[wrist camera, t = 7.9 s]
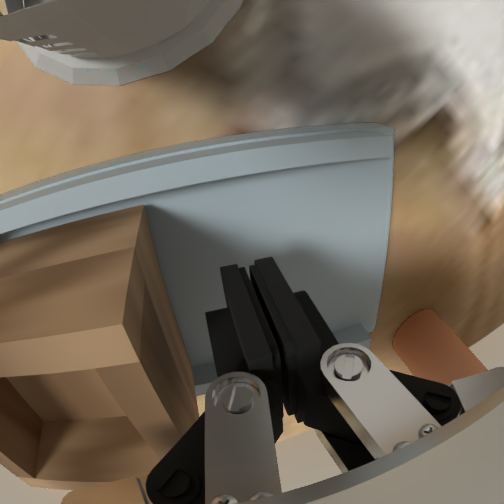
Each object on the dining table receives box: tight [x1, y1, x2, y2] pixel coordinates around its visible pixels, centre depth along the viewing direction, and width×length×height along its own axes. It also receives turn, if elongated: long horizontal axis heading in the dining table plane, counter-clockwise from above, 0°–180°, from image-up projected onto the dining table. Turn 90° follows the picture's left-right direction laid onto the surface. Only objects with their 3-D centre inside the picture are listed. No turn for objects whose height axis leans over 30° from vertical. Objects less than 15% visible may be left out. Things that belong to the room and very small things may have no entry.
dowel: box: [392, 309, 488, 385], centre depth 16 cm, size 4×4×12 cm
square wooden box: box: [0, 204, 199, 490], centre depth 9 cm, size 8×8×6 cm
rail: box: [0, 123, 394, 396], centre depth 12 cm, size 20×11×6 cm, turn 97°
